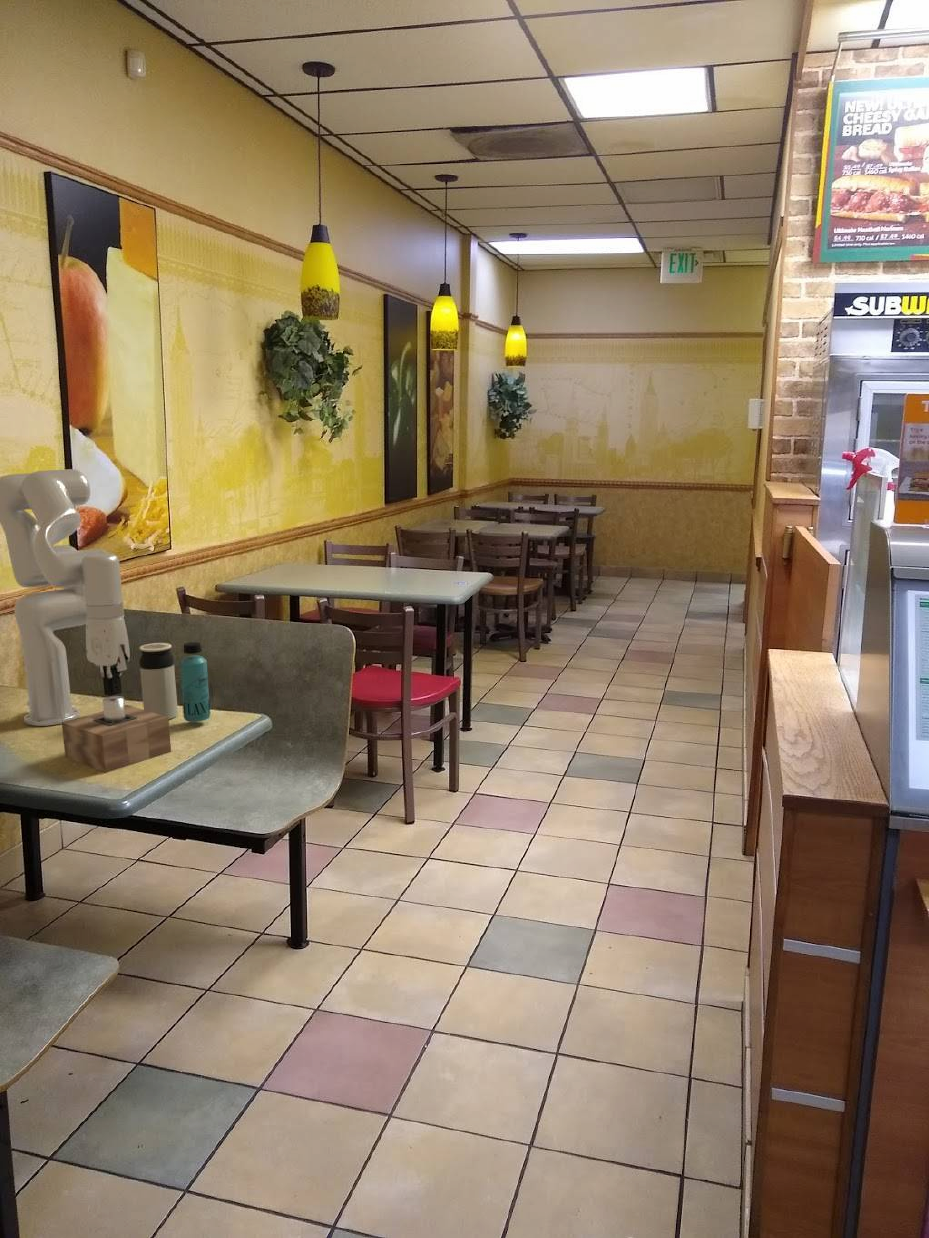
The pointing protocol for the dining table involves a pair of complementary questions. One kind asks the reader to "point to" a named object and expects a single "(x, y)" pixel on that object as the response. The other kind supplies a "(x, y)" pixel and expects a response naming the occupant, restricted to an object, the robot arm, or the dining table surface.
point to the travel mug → (158, 679)
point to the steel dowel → (114, 709)
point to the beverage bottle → (194, 684)
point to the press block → (116, 739)
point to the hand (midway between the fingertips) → (113, 694)
